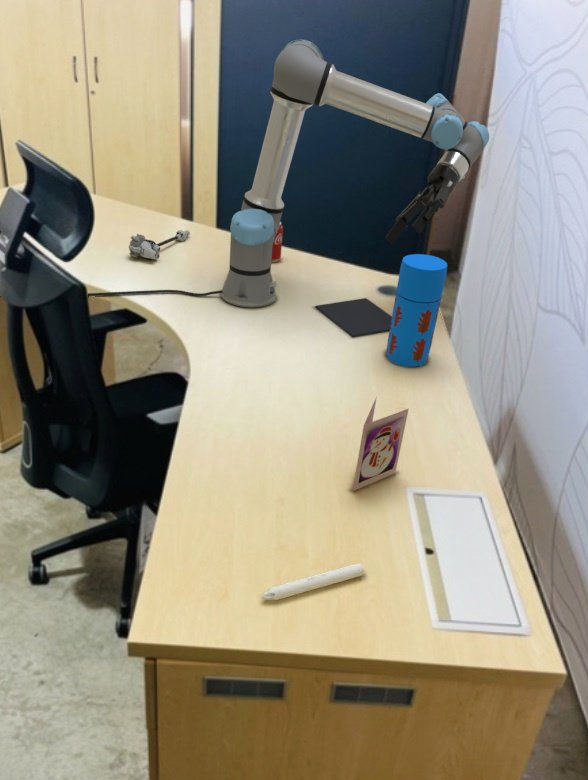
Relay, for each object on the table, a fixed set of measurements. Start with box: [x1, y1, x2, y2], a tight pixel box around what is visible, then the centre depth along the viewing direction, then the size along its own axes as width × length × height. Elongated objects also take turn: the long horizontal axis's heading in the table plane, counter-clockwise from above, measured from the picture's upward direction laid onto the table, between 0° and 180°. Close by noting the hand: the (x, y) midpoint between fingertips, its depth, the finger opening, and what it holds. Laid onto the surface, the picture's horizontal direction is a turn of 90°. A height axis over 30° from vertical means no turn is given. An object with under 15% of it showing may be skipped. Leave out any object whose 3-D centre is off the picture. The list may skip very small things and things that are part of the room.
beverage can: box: [271, 221, 284, 263], centre depth 239 cm, size 6×6×12 cm
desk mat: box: [315, 297, 392, 338], centre depth 210 cm, size 17×20×1 cm
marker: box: [262, 563, 365, 601], centre depth 122 cm, size 18×2×2 cm, turn 114°
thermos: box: [385, 253, 448, 368], centre depth 185 cm, size 11×11×25 cm
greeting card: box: [352, 395, 409, 492], centre depth 145 cm, size 11×7×15 cm, turn 126°
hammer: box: [128, 229, 191, 260], centre depth 243 cm, size 10×7×30 cm
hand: (401, 235), depth 195 cm, fingers open, 13 cm apart
